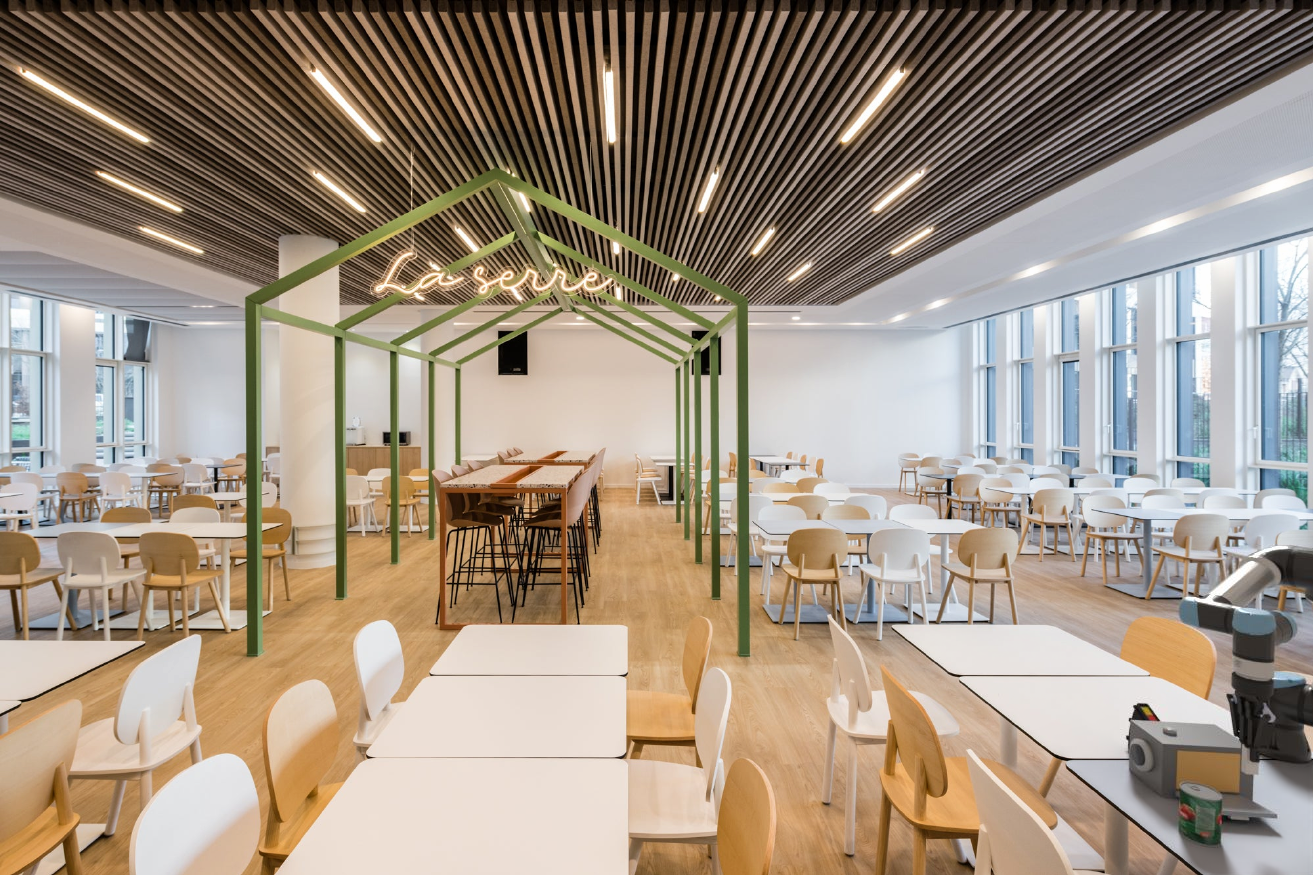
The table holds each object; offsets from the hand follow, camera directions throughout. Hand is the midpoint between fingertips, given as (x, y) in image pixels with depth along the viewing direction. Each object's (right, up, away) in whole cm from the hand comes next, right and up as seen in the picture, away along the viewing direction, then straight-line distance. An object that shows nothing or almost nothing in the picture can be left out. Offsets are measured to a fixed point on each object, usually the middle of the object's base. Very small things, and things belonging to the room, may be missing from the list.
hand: (1249, 772), depth 159 cm
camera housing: (+1, -14, +21) cm, 25 cm away
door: (+1, -12, +13) cm, 18 cm away
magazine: (+1, -14, +35) cm, 37 cm away
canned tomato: (-14, -14, -2) cm, 20 cm away
